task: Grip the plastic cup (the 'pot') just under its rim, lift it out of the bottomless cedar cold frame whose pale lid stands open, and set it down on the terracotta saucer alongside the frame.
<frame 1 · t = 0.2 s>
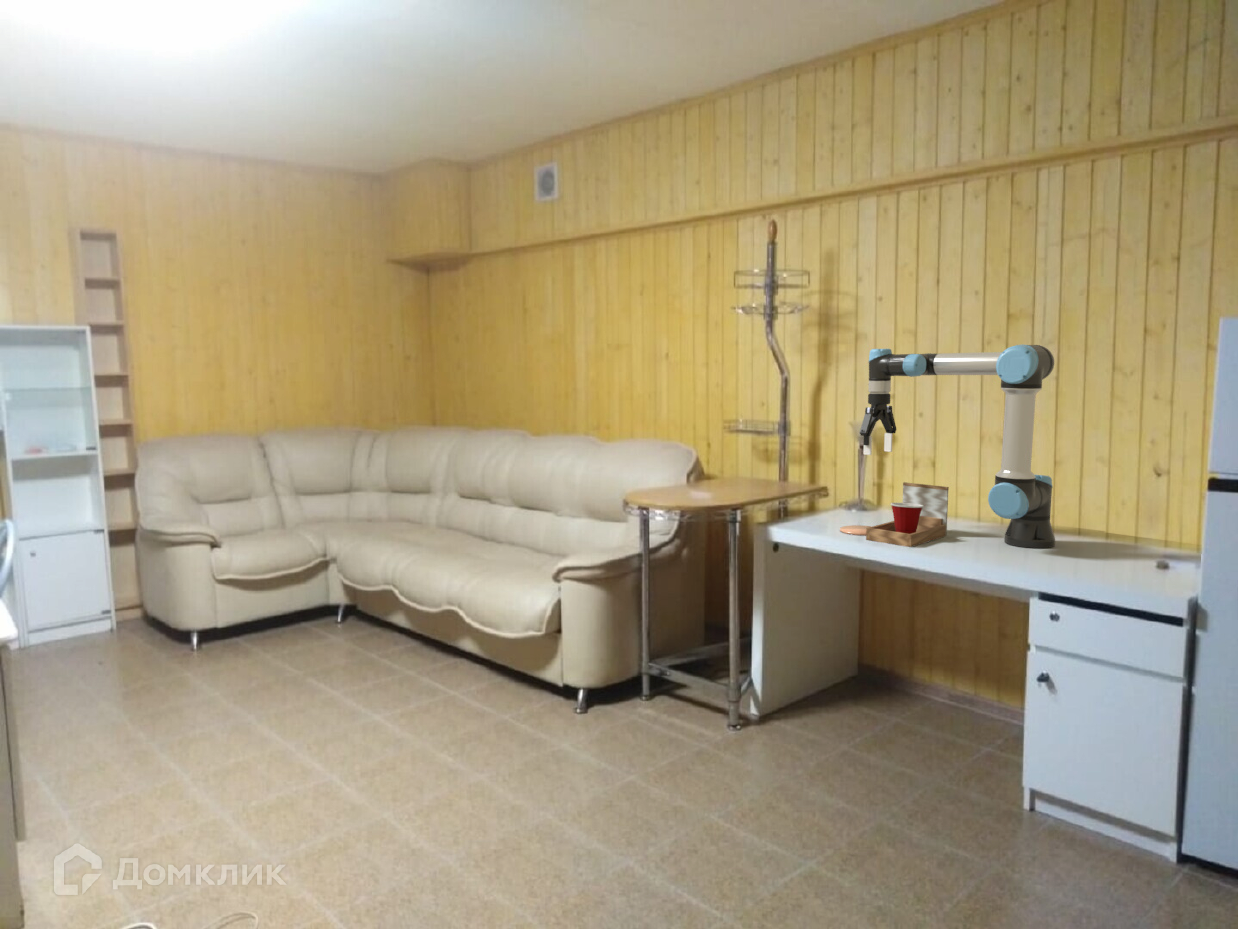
hand: (877, 453, 312), 27 cm above the table, fingers open, 13 cm apart
cold frame: (905, 538, 300), on the table
saucer: (860, 531, 312), on the table
plastic cup: (905, 538, 301), resting in cold frame
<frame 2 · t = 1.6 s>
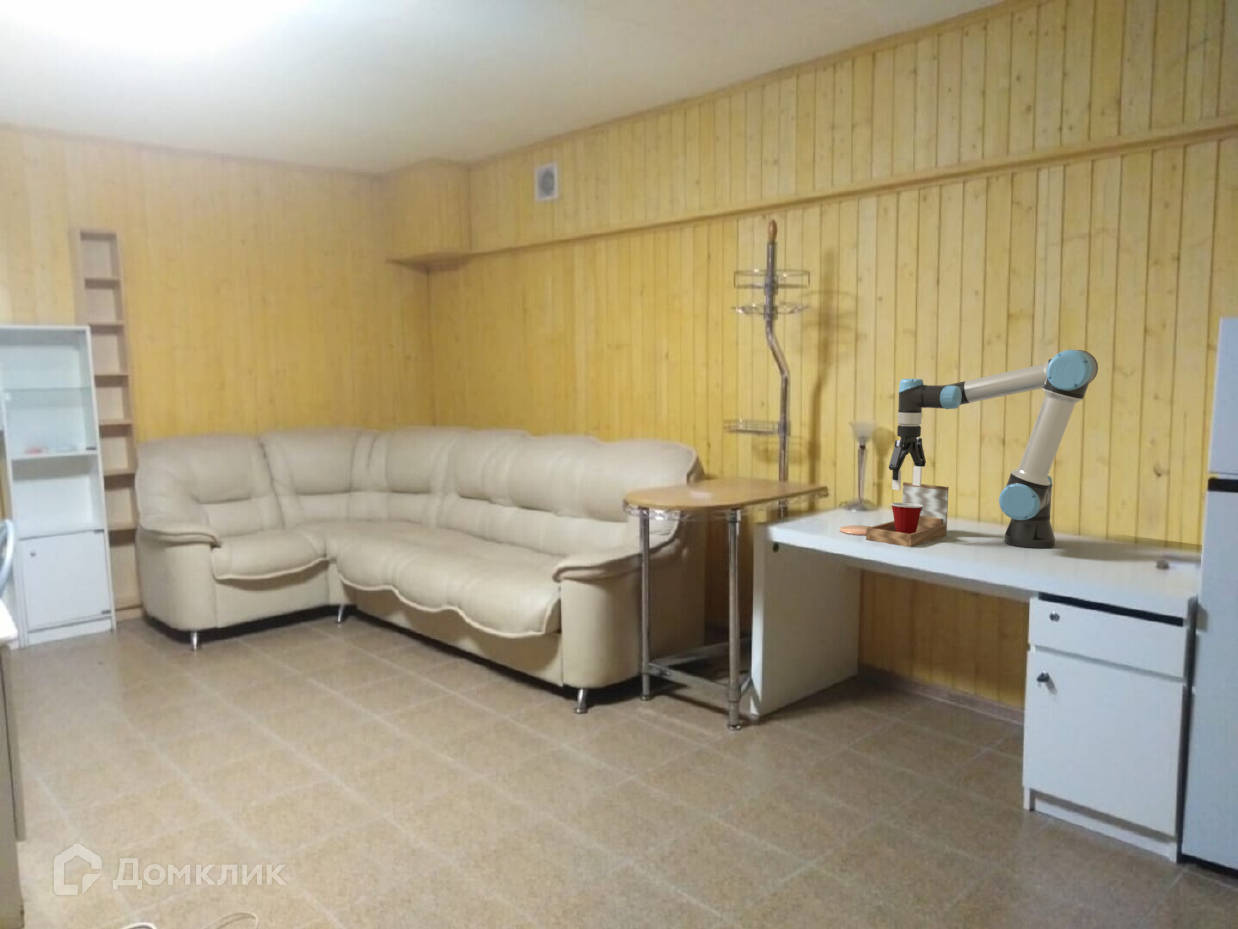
hand: (906, 487, 298), 17 cm above the table, fingers open, 13 cm apart
nothing on the table moved.
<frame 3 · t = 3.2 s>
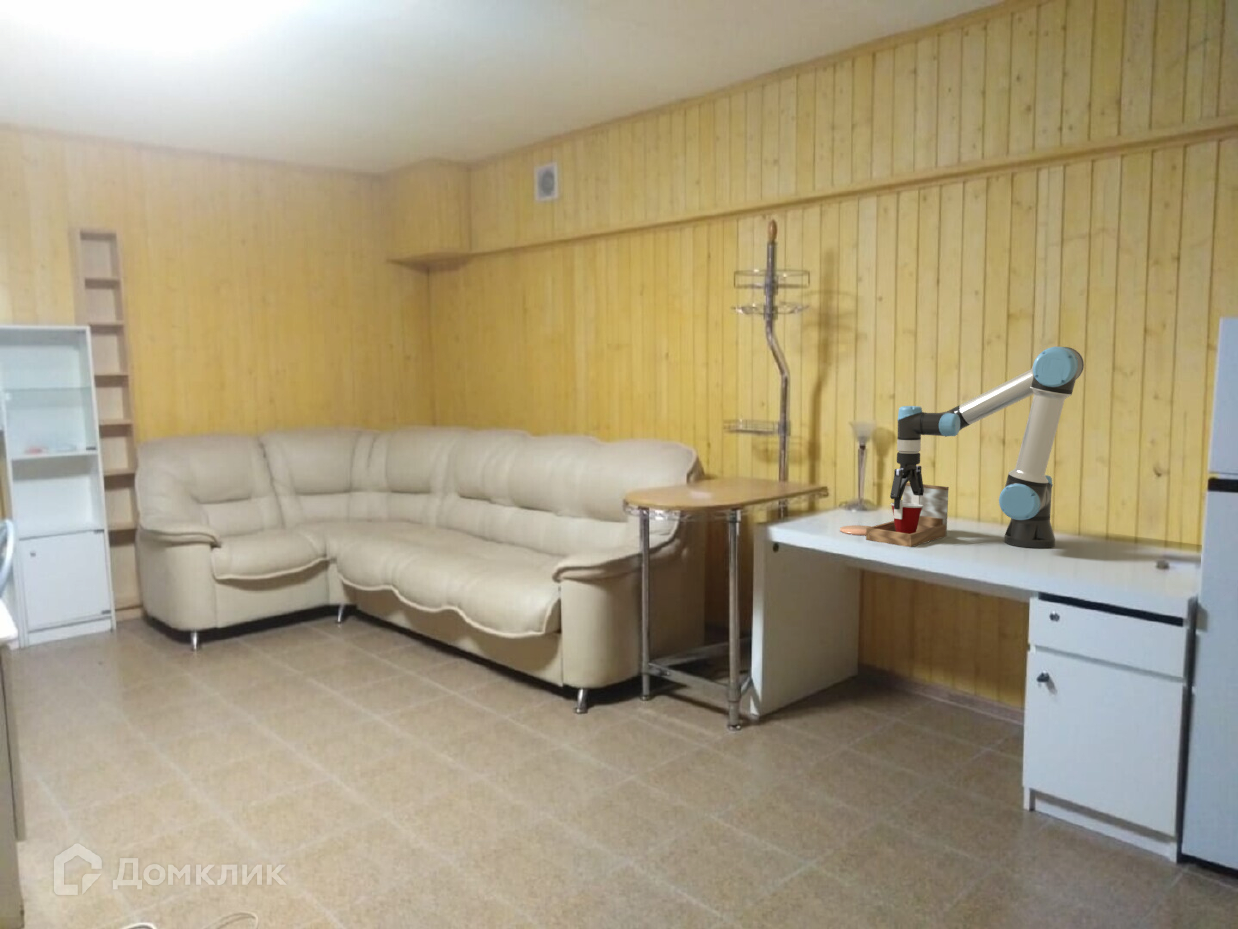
hand: (906, 516, 300), 7 cm above the table, fingers closed on plastic cup, 11 cm apart
plastic cup: (905, 538, 301), resting in cold frame, touching gripper
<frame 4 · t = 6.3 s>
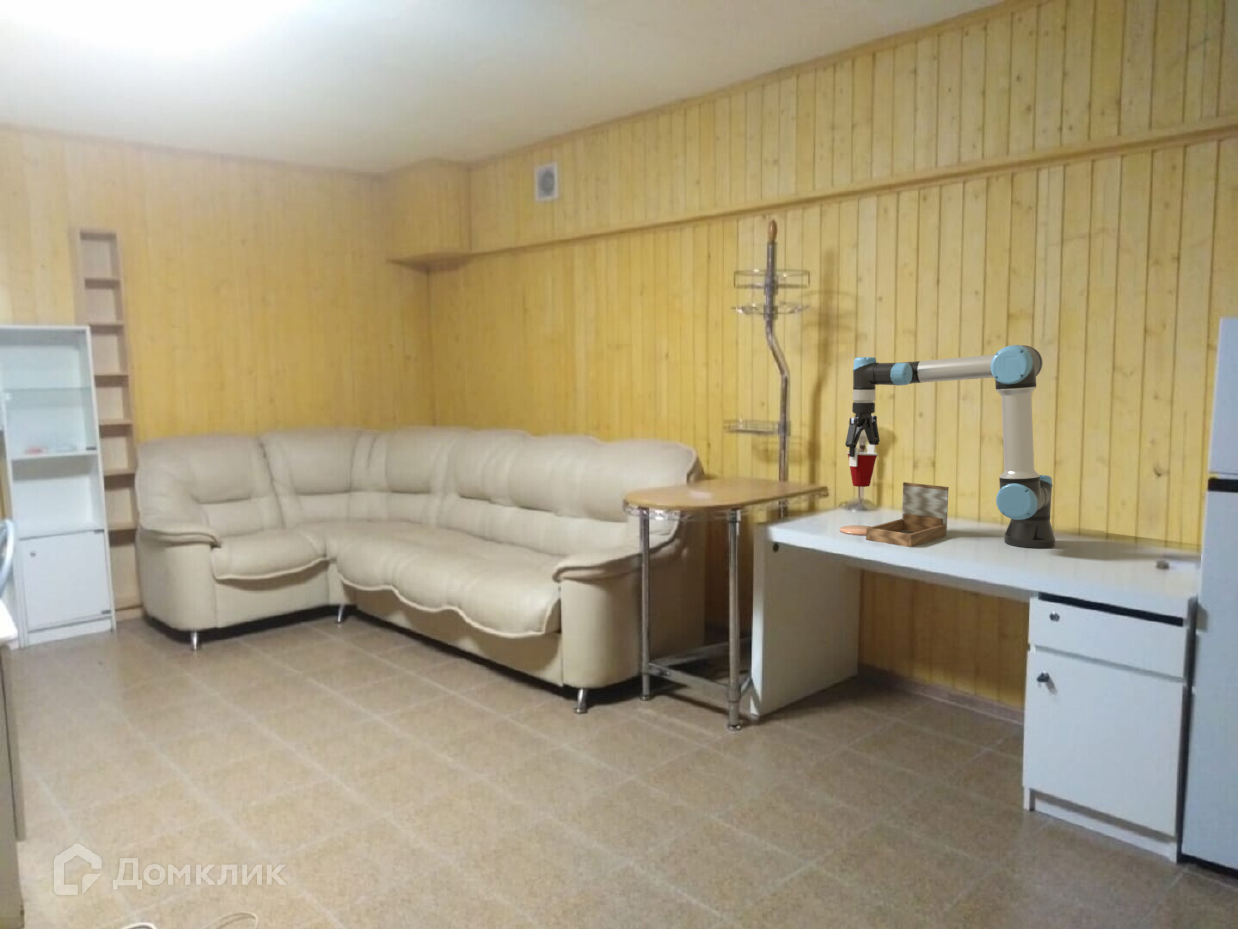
hand: (862, 464, 309), 24 cm above the table, fingers closed on plastic cup, 11 cm apart
plastic cup: (861, 486, 310), point 16 cm above the table, touching gripper
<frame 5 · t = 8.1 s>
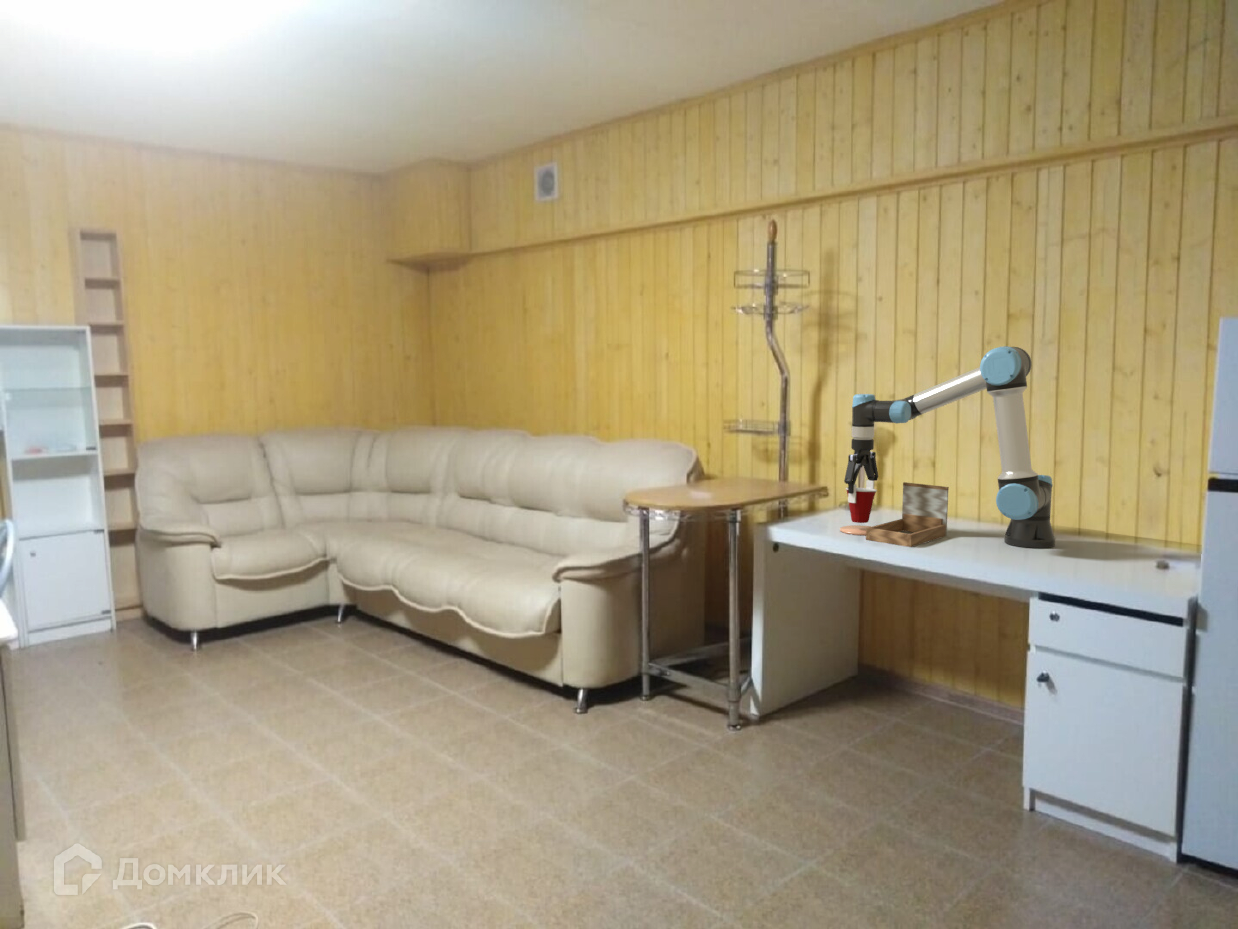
hand: (861, 500, 311), 11 cm above the table, fingers closed on plastic cup, 11 cm apart
plastic cup: (860, 522, 312), point 3 cm above the table, touching gripper
when the fingers open (9 cm above the table, at t = 9.5 s): plastic cup drops 1 cm, resting on saucer.
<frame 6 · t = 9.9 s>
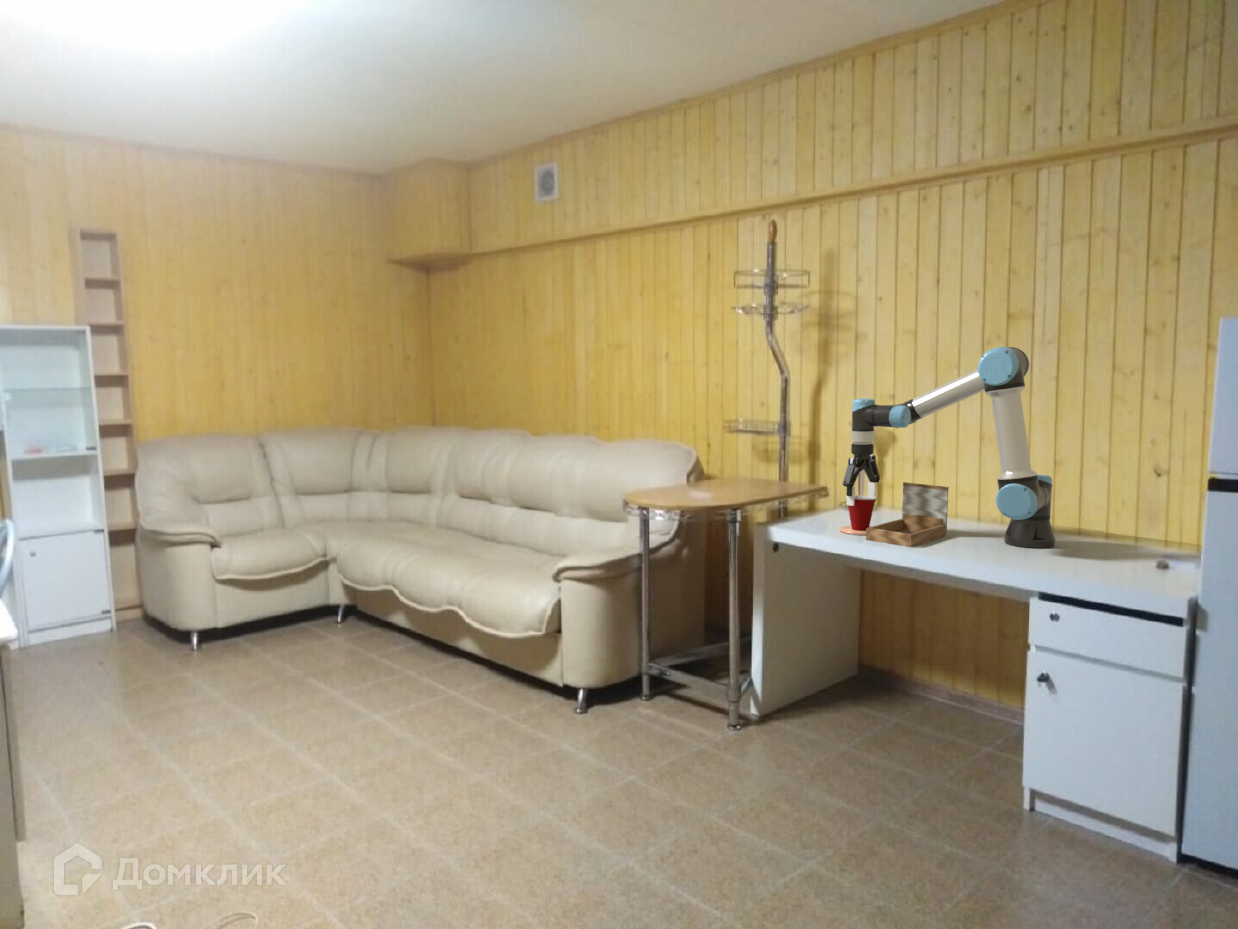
hand: (861, 503, 311), 10 cm above the table, fingers open, 13 cm apart
plastic cup: (860, 529, 312), point 1 cm above the table, touching saucer
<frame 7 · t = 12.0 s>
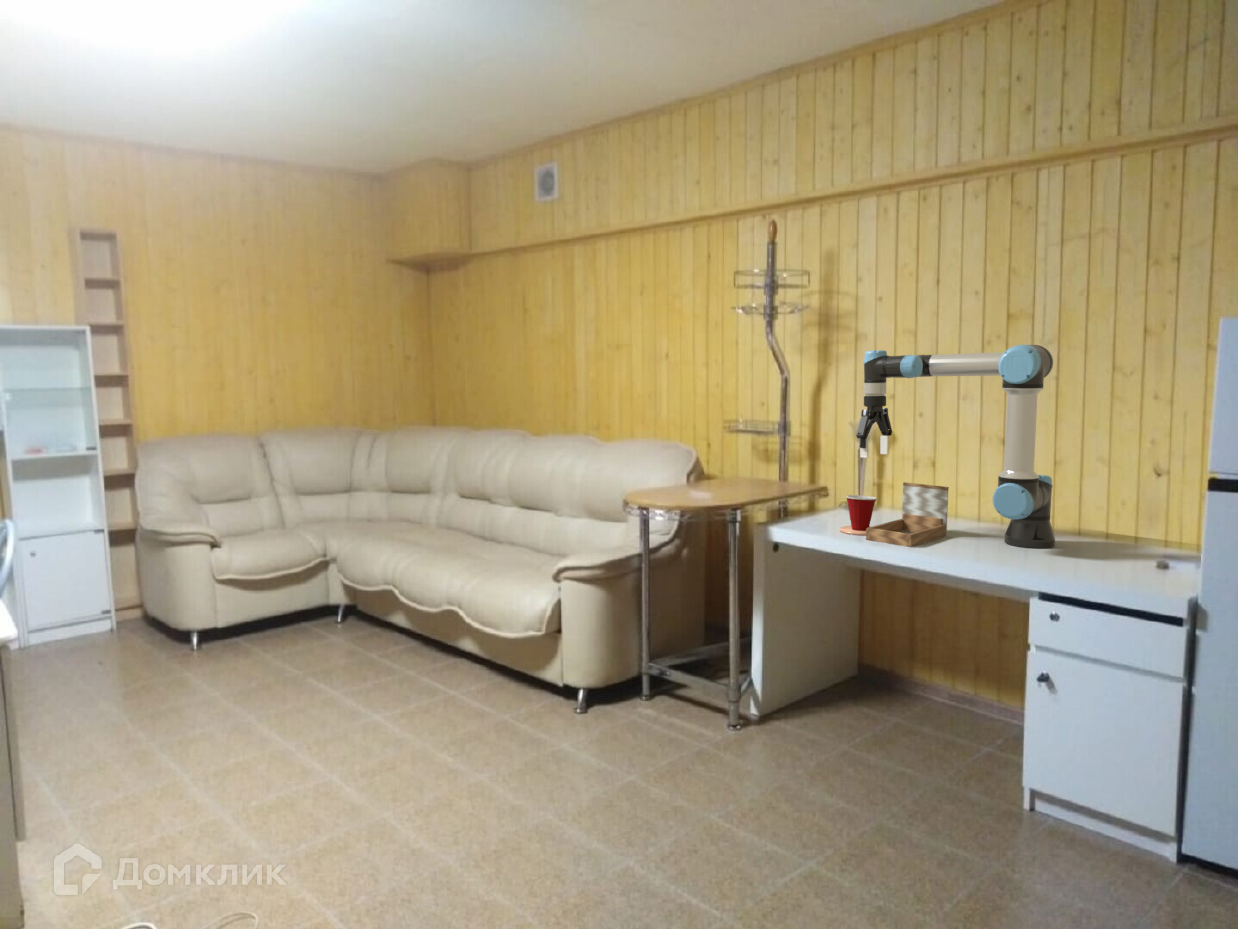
hand: (874, 455, 309), 27 cm above the table, fingers open, 13 cm apart
nothing on the table moved.
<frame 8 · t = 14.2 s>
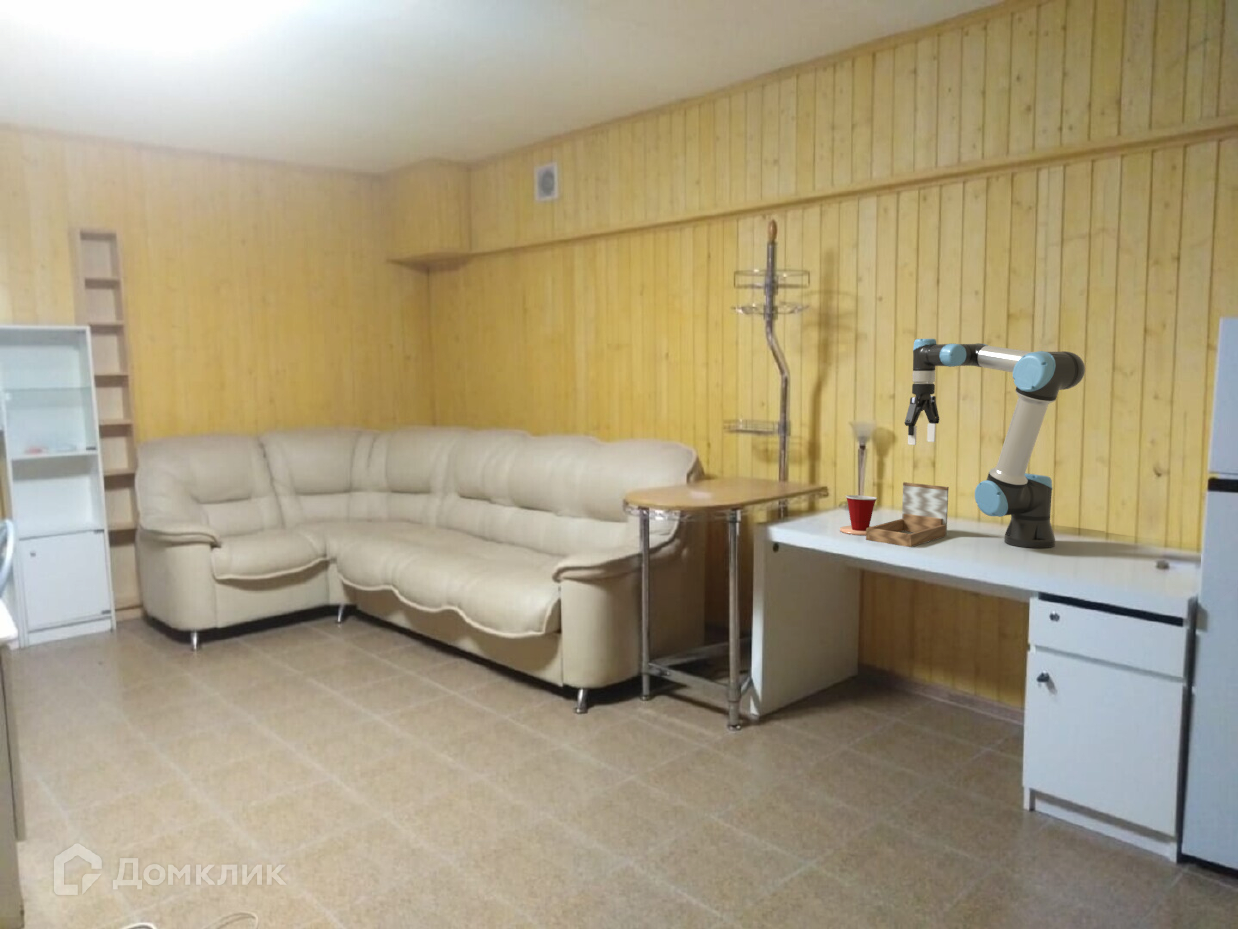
hand: (921, 443, 312), 31 cm above the table, fingers open, 13 cm apart
nothing on the table moved.
at the end: plastic cup 0.1 cm from the saucer (horizontally); plastic cup tilted 0°; the gripper is holding nothing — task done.
